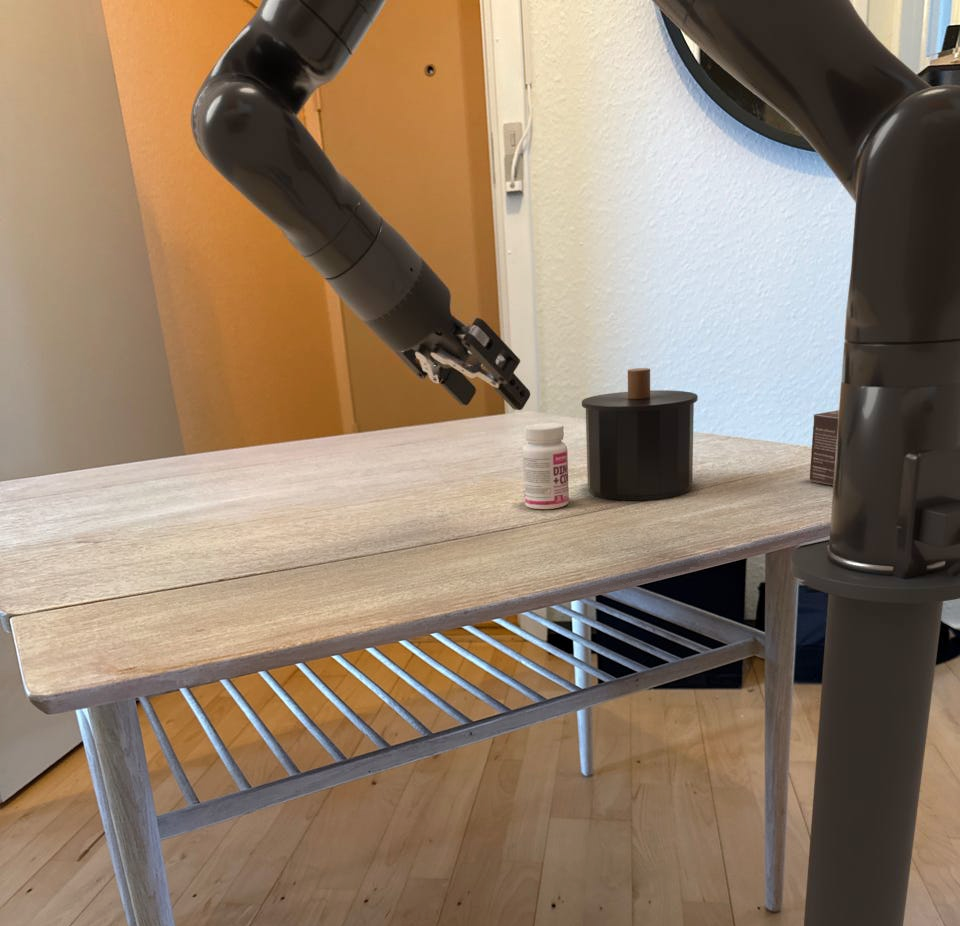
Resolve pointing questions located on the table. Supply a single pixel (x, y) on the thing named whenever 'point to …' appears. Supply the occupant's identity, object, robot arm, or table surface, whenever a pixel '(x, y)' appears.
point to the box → (824, 447)
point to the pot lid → (639, 396)
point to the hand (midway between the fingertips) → (495, 400)
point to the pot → (640, 453)
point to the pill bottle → (545, 467)
